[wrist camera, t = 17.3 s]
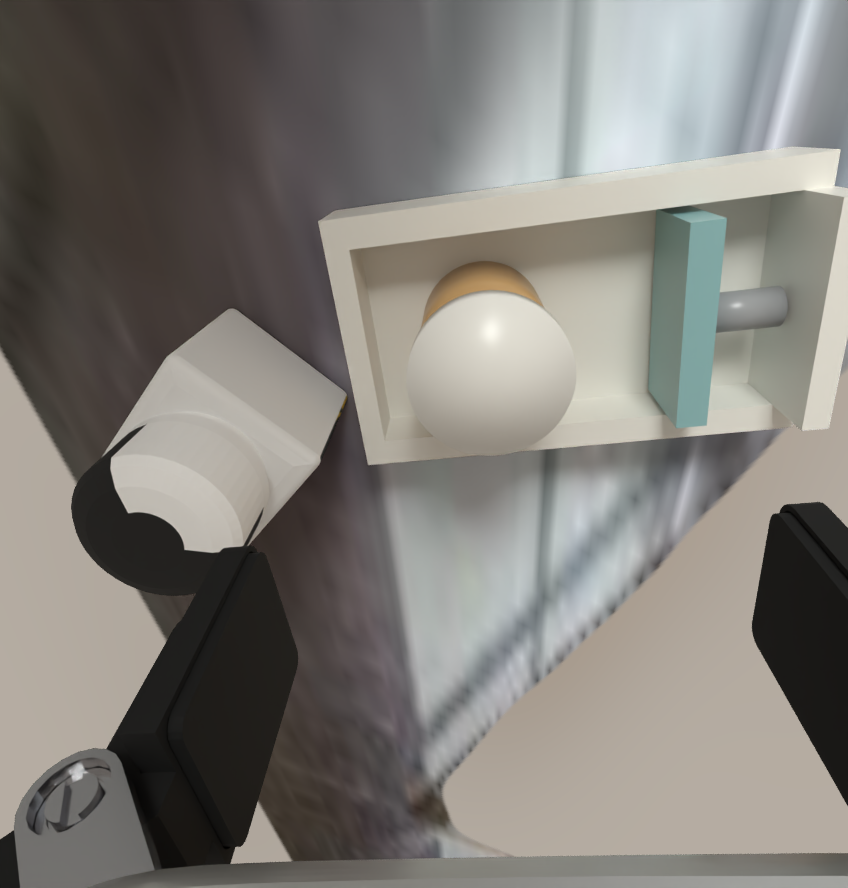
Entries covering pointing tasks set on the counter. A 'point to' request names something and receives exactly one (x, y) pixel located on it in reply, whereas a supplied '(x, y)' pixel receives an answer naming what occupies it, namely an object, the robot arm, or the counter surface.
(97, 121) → the counter surface
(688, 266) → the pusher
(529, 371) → the jar
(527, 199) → the lane
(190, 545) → the medicine bottle
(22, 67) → the counter surface
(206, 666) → the robot arm
